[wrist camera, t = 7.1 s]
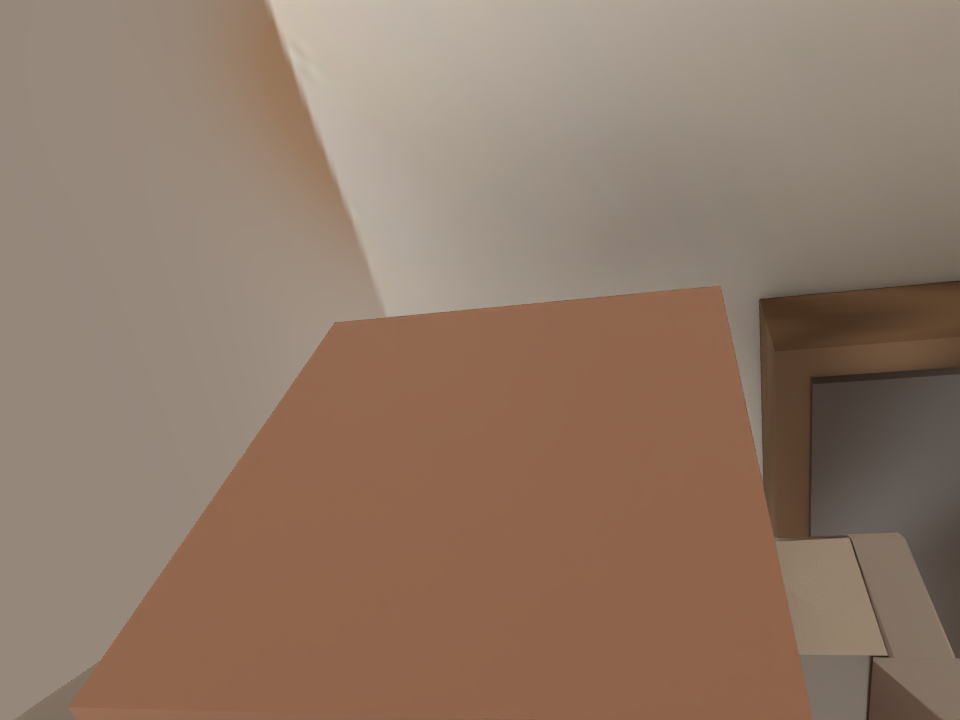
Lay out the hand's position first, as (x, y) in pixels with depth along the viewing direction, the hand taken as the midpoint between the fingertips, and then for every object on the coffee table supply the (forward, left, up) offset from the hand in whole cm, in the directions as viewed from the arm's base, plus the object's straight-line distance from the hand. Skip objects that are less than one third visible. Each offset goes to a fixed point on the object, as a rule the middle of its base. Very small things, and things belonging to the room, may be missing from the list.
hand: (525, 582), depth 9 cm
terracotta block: (0, 0, -2) cm, 2 cm away
